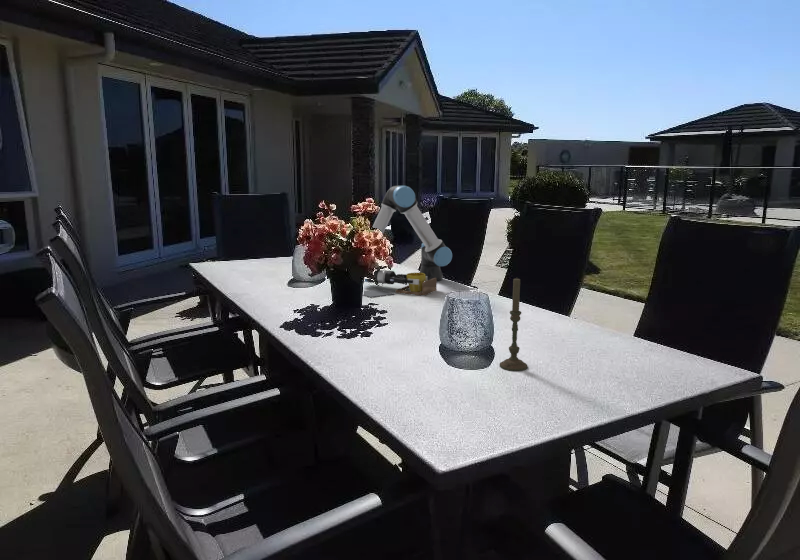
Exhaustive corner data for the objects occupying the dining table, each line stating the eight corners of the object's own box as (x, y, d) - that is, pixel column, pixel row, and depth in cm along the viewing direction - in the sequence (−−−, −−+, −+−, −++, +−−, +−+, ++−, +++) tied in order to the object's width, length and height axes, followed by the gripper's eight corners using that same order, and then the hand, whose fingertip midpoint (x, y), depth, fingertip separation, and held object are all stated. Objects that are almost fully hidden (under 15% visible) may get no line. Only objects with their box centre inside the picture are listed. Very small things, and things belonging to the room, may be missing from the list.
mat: (379, 290, 310) (379, 289, 310) (394, 294, 298) (394, 293, 298) (356, 293, 302) (356, 292, 302) (370, 297, 290) (370, 296, 290)
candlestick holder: (528, 363, 186) (531, 275, 181) (527, 372, 178) (531, 279, 172) (500, 361, 189) (503, 274, 183) (498, 369, 180) (501, 278, 175)
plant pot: (404, 292, 303) (404, 275, 301) (409, 289, 312) (409, 272, 311) (422, 293, 300) (422, 275, 298) (427, 290, 309) (427, 272, 308)
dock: (395, 292, 302) (395, 280, 301) (408, 287, 317) (408, 275, 316) (424, 295, 295) (424, 282, 294) (436, 290, 310) (436, 277, 308)
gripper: (396, 280, 324) (431, 283, 314) (377, 287, 303) (414, 290, 294) (396, 267, 322) (431, 270, 312) (377, 273, 302) (414, 276, 292)
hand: (423, 280), depth 303 cm, fingers closed on plant pot, 10 cm apart
